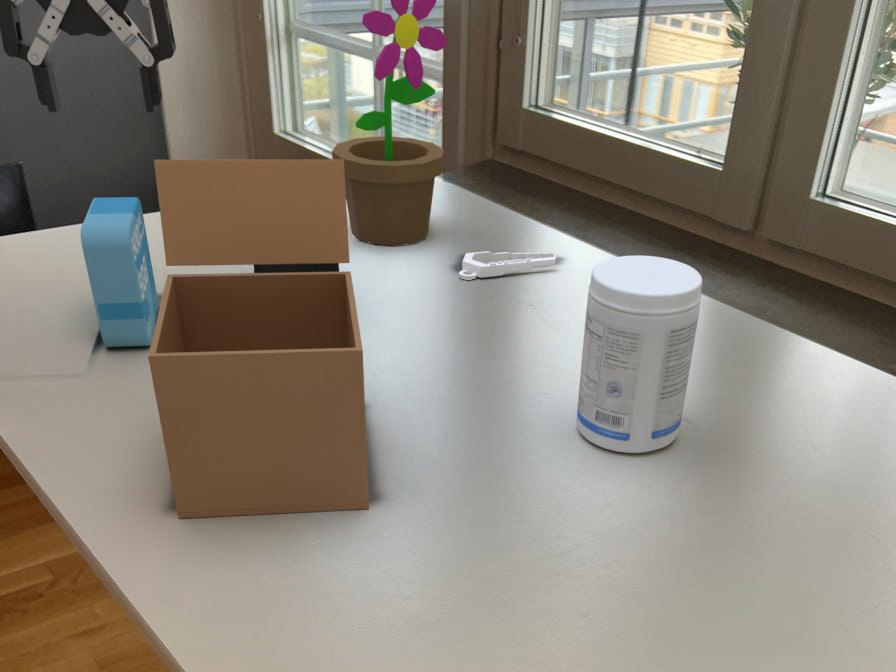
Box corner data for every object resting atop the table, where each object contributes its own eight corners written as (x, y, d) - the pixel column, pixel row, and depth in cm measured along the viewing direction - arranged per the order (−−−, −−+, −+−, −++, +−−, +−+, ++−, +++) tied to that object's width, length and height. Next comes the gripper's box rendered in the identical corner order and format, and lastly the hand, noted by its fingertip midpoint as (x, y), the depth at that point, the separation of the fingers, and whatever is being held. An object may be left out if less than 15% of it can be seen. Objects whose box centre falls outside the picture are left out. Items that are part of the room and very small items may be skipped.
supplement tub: (657, 405, 96) (683, 251, 87) (693, 453, 89) (725, 291, 80) (561, 411, 95) (577, 255, 85) (590, 461, 88) (610, 296, 78)
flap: (153, 159, 78) (154, 160, 79) (166, 265, 81) (167, 266, 81) (343, 159, 80) (343, 160, 81) (349, 262, 83) (349, 263, 83)
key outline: (543, 257, 127) (544, 243, 126) (559, 270, 124) (560, 256, 123) (448, 267, 124) (448, 253, 122) (462, 281, 120) (463, 266, 119)
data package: (150, 351, 101) (128, 230, 94) (104, 352, 101) (78, 231, 93) (159, 306, 111) (139, 192, 103) (117, 307, 110) (94, 193, 102)
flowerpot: (379, 259, 125) (371, -26, 106) (315, 228, 133) (297, -42, 114) (465, 237, 132) (472, -32, 113) (400, 210, 140) (396, -46, 121)
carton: (178, 518, 78) (147, 356, 69) (191, 423, 90) (167, 274, 81) (369, 509, 80) (362, 349, 72) (357, 416, 92) (350, 271, 84)
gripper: (157, -111, 84) (186, 102, 94) (-20, -117, 82) (30, 101, 93) (147, -105, 78) (180, 121, 89) (-43, -111, 76) (13, 120, 87)
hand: (103, 111), depth 91 cm, fingers open, 8 cm apart
